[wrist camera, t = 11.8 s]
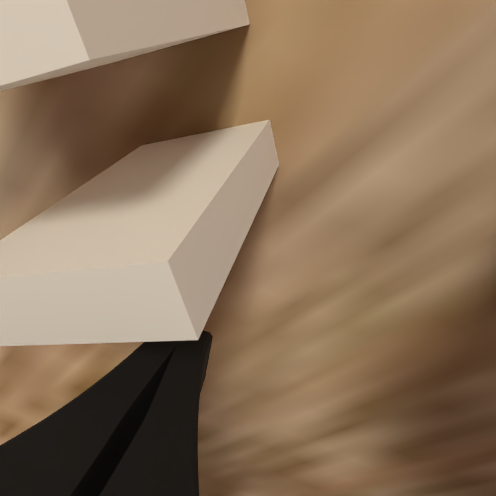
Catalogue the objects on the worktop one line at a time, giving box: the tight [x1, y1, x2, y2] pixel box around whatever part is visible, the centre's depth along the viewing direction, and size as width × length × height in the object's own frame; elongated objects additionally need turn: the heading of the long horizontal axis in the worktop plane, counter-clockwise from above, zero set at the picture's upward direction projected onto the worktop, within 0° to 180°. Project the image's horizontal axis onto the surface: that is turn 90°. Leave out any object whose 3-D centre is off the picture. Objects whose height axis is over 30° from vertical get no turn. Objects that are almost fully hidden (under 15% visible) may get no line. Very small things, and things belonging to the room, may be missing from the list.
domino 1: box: [0, 0, 249, 91], centre depth 9 cm, size 2×5×9 cm, turn 103°
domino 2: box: [0, 120, 279, 346], centre depth 11 cm, size 2×5×9 cm, turn 104°
